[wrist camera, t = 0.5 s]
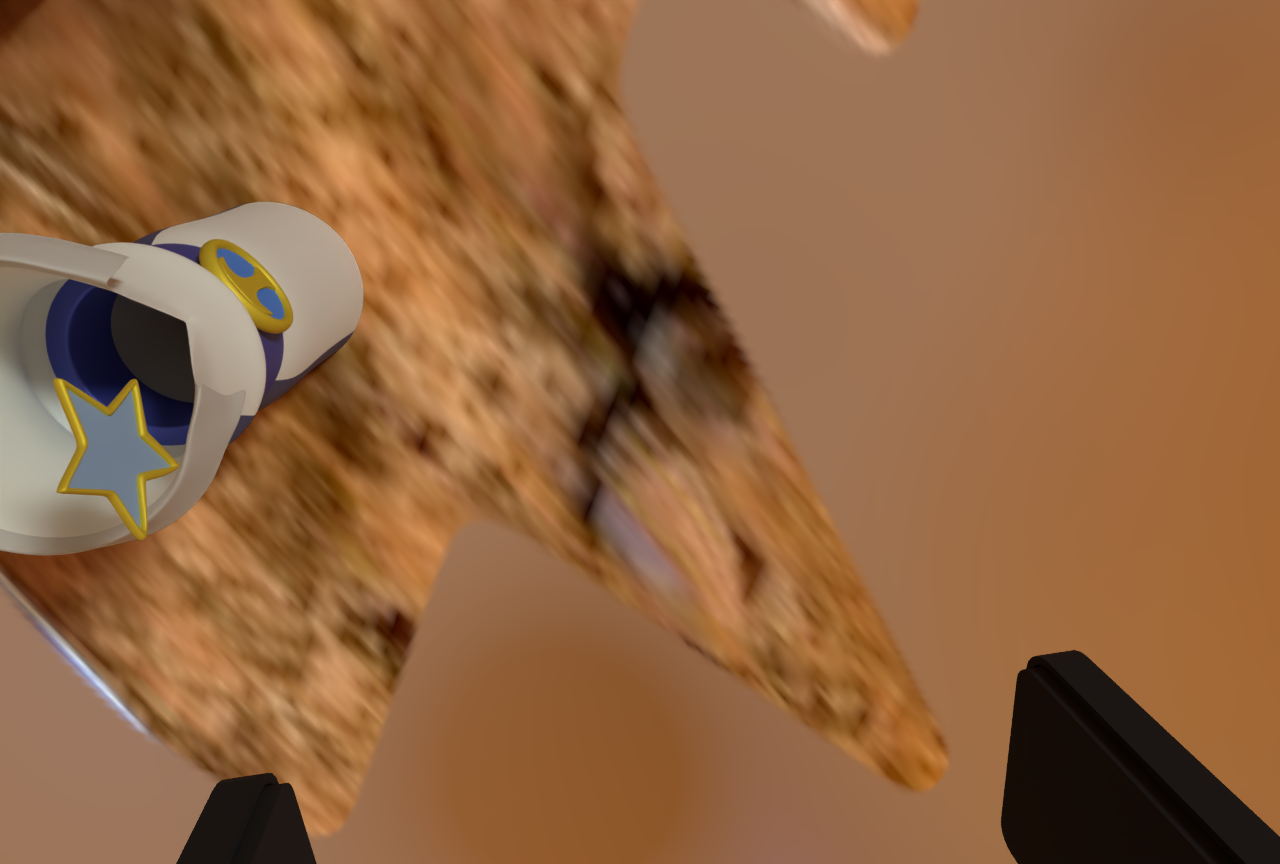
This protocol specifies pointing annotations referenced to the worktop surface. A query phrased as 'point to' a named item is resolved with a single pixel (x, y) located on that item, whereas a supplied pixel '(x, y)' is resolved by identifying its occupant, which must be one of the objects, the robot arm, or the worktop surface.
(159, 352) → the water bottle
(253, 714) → the worktop surface
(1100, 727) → the robot arm
